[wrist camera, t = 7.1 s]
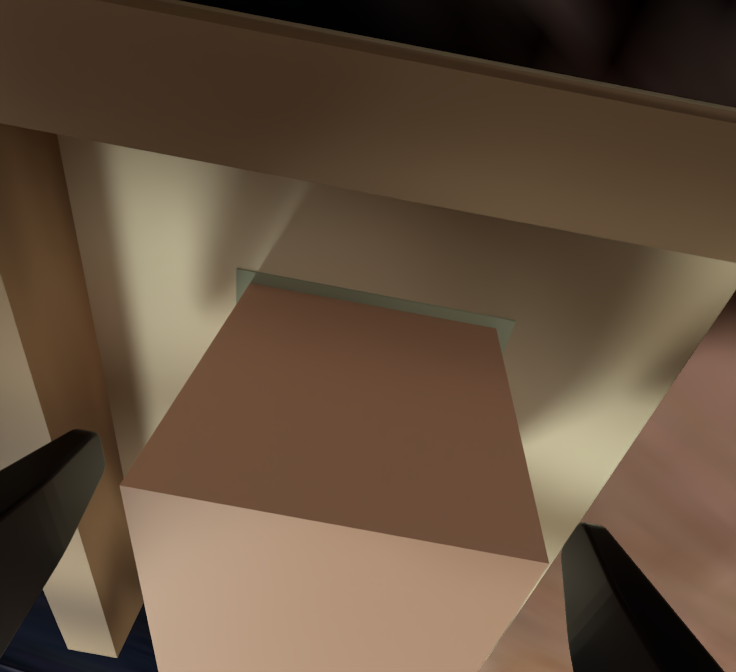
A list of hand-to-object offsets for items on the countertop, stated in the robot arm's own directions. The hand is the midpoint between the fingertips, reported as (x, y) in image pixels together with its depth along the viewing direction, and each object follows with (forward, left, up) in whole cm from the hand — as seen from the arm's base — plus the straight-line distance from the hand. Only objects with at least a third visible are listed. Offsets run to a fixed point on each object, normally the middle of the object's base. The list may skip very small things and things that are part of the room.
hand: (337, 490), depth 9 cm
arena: (-2, +1, -4) cm, 4 cm away
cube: (0, 0, -2) cm, 3 cm away
